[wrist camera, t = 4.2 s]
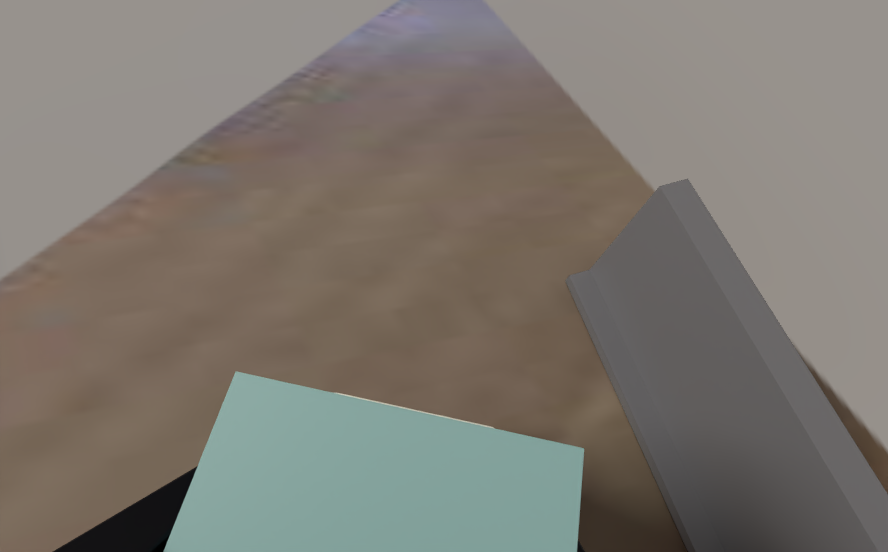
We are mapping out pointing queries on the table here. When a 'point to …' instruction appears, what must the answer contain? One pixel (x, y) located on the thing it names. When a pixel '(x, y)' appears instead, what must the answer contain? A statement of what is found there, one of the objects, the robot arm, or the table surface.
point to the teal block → (371, 480)
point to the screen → (722, 393)
